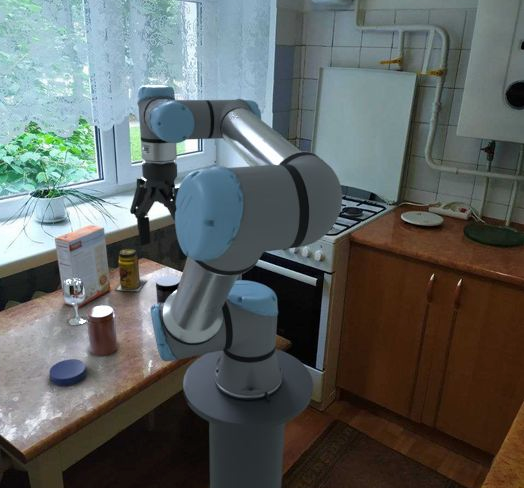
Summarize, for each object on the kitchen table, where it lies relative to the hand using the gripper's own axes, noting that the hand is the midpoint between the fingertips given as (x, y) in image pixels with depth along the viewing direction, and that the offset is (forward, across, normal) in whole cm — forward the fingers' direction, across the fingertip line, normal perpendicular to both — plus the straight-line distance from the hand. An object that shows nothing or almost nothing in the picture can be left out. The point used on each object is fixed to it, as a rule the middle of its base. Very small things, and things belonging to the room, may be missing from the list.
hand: (163, 251), depth 116 cm
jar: (+27, -12, -10) cm, 31 cm away
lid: (+25, -8, -23) cm, 35 cm away
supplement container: (+27, -14, +12) cm, 33 cm away
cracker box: (+27, -40, +3) cm, 48 cm away
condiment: (+27, -37, +17) cm, 48 cm away
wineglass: (+27, -29, -7) cm, 40 cm away
